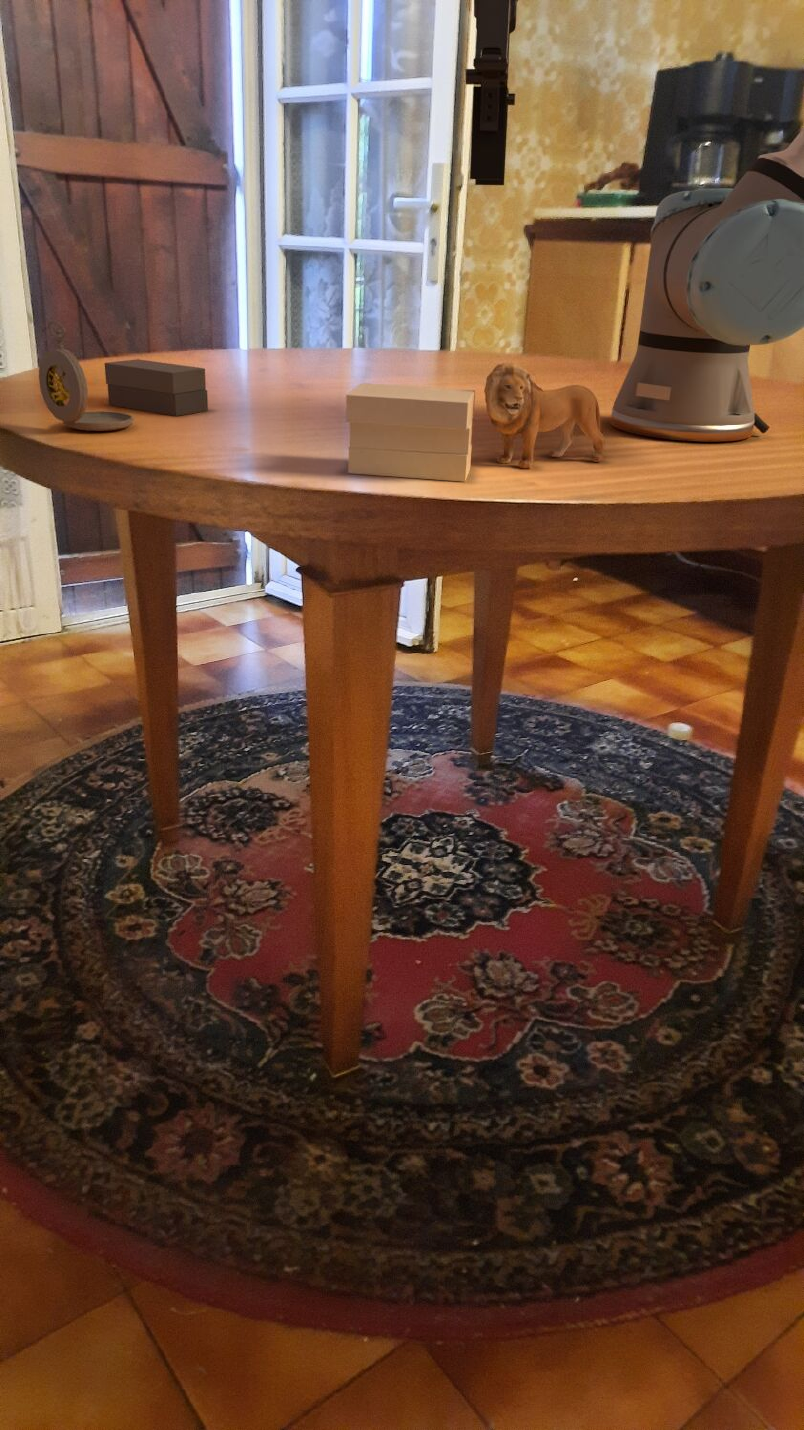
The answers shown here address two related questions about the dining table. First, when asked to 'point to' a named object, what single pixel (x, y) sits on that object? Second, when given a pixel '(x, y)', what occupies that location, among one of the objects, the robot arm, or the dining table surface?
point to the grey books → (156, 387)
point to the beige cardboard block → (410, 451)
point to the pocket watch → (72, 391)
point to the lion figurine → (539, 412)
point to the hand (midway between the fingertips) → (488, 183)
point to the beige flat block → (410, 406)
